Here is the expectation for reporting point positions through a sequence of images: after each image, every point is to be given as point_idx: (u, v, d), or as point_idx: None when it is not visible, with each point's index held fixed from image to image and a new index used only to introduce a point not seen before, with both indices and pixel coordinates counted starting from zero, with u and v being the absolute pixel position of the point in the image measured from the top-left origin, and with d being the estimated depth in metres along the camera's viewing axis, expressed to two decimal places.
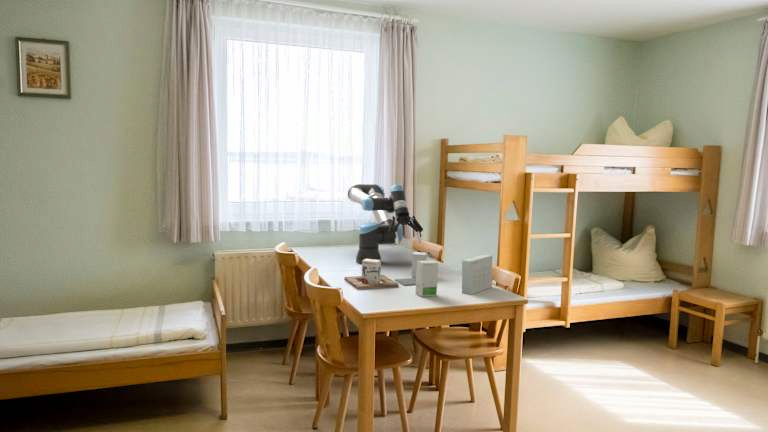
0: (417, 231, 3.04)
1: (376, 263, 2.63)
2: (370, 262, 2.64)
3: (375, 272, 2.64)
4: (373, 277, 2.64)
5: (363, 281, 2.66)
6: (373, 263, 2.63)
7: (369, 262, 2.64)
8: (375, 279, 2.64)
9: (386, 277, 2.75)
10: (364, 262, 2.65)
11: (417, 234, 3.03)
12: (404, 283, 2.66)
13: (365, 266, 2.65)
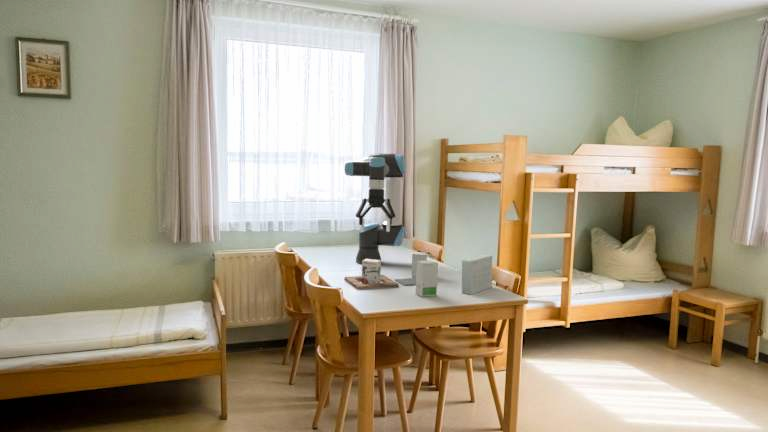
0: (388, 216, 2.69)
1: (376, 263, 2.63)
2: (370, 262, 2.64)
3: (375, 272, 2.64)
4: (373, 277, 2.64)
5: (363, 281, 2.66)
6: (373, 263, 2.64)
7: (369, 262, 2.64)
8: (375, 279, 2.64)
9: (386, 277, 2.75)
10: (364, 262, 2.65)
11: (387, 221, 2.68)
12: (404, 283, 2.66)
13: (365, 266, 2.65)
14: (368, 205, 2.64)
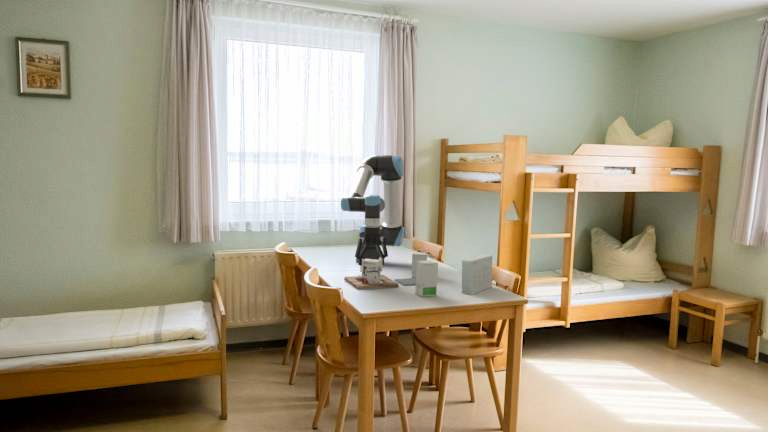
0: (381, 256, 2.69)
1: (376, 263, 2.63)
2: (370, 262, 2.64)
3: (375, 272, 2.63)
4: (373, 277, 2.64)
5: (363, 281, 2.66)
6: (373, 263, 2.63)
7: (369, 262, 2.64)
8: (375, 279, 2.64)
9: (386, 277, 2.75)
10: (364, 262, 2.65)
11: None
12: (404, 283, 2.66)
13: (365, 266, 2.65)
14: (365, 244, 2.65)
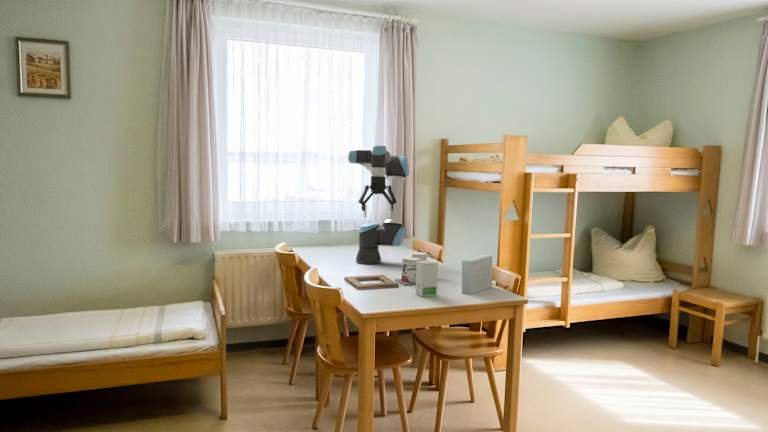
0: (390, 202, 2.80)
1: (416, 261, 2.67)
2: (410, 260, 2.69)
3: (415, 270, 2.68)
4: (414, 275, 2.69)
5: (403, 279, 2.71)
6: (413, 261, 2.68)
7: (409, 260, 2.69)
8: (415, 277, 2.68)
9: (386, 277, 2.75)
10: (404, 260, 2.70)
11: (389, 206, 2.80)
12: (404, 283, 2.66)
13: (405, 264, 2.70)
14: (370, 191, 2.76)
